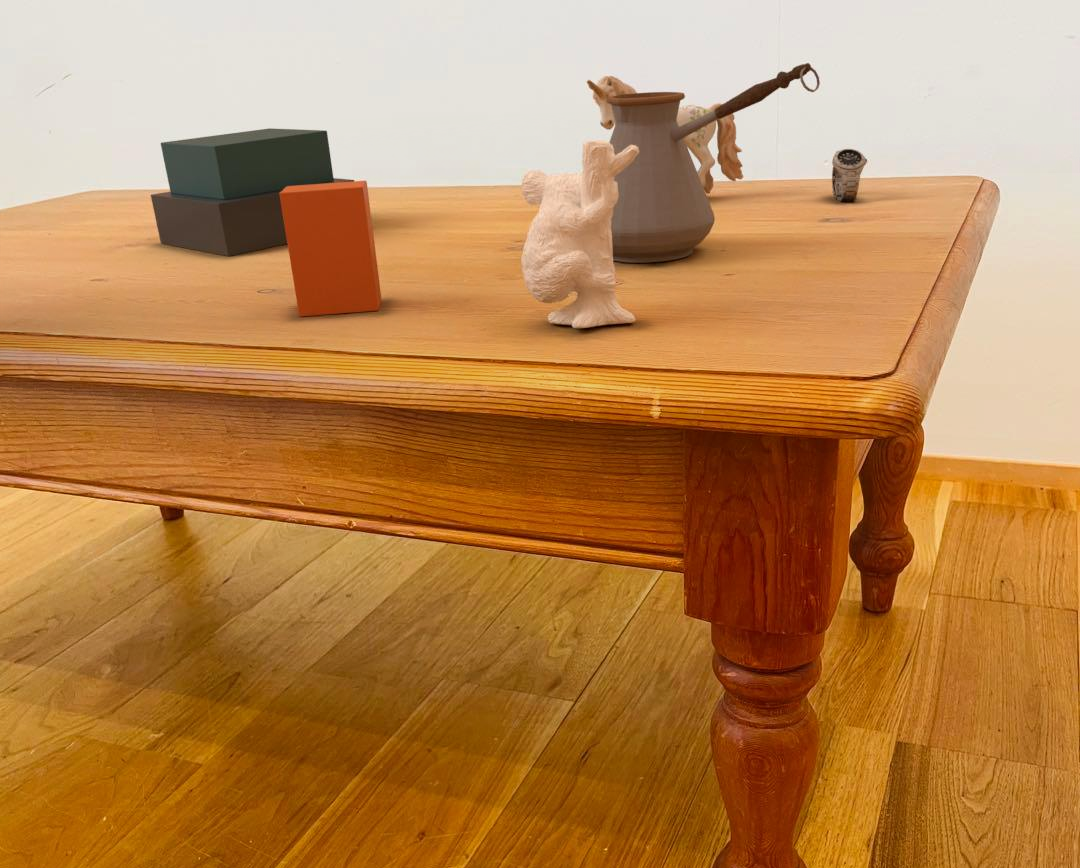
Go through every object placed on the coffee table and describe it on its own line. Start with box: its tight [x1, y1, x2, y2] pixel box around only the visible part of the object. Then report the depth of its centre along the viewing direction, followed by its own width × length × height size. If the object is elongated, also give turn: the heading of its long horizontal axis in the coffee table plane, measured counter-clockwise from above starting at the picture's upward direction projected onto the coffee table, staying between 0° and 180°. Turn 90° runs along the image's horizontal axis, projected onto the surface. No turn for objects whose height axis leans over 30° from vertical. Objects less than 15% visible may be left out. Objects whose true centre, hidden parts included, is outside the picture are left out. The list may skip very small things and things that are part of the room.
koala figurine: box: [520, 139, 639, 329], centre depth 71 cm, size 8×7×12 cm
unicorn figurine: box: [586, 75, 744, 195], centre depth 114 cm, size 7×20×13 cm, turn 117°
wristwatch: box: [831, 148, 868, 203], centre depth 112 cm, size 4×6×5 cm, turn 178°
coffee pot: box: [607, 62, 821, 263], centre depth 87 cm, size 21×12×15 cm, turn 47°
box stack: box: [150, 127, 355, 257], centre depth 112 cm, size 16×14×10 cm
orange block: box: [279, 180, 382, 317], centre depth 81 cm, size 6×4×9 cm, turn 94°
